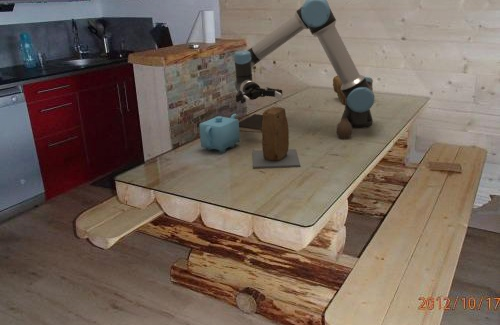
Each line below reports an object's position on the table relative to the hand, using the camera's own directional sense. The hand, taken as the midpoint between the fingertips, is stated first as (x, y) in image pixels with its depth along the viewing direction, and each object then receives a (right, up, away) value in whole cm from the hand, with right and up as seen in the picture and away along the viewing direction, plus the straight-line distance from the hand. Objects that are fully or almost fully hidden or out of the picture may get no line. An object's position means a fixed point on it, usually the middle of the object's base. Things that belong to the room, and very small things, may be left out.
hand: (265, 99), depth 180 cm
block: (+4, -23, -1) cm, 24 cm away
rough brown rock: (+52, +9, +80) cm, 96 cm away
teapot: (-18, -18, +16) cm, 30 cm away
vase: (+36, -14, +21) cm, 44 cm away
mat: (+4, -24, -1) cm, 24 cm away
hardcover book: (-2, -7, +46) cm, 46 cm away
